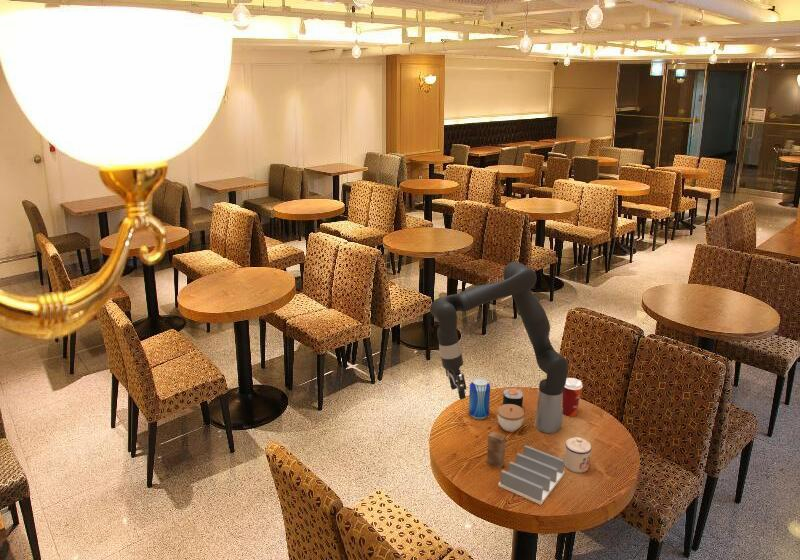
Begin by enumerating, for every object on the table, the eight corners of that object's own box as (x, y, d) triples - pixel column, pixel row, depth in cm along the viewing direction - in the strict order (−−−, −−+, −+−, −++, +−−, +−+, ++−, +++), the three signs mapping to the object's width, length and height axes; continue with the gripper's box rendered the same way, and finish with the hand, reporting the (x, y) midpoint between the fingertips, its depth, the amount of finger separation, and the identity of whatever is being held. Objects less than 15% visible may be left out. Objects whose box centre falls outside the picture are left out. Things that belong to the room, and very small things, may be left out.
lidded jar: (521, 437, 233) (522, 416, 230) (494, 432, 236) (495, 411, 233) (524, 422, 242) (526, 402, 239) (498, 418, 246) (500, 398, 242)
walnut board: (486, 462, 217) (488, 435, 213) (490, 458, 220) (492, 431, 216) (500, 468, 214) (501, 440, 210) (503, 464, 216) (505, 436, 212)
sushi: (500, 403, 256) (501, 387, 254) (519, 402, 257) (520, 386, 254) (504, 413, 249) (505, 397, 246) (524, 412, 249) (525, 396, 247)
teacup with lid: (582, 476, 210) (586, 449, 206) (559, 466, 215) (561, 439, 211) (596, 460, 218) (599, 434, 214) (573, 451, 224) (576, 425, 220)
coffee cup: (580, 419, 244) (583, 387, 239) (559, 417, 246) (563, 385, 241) (578, 408, 252) (582, 377, 247) (558, 406, 254) (561, 376, 249)
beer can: (489, 420, 244) (491, 386, 238) (469, 420, 244) (471, 386, 239) (487, 409, 252) (489, 376, 246) (467, 409, 252) (469, 376, 247)
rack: (498, 485, 205) (499, 471, 203) (523, 457, 220) (524, 444, 218) (541, 505, 196) (542, 490, 194) (564, 474, 211) (566, 460, 209)
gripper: (468, 357, 203) (475, 398, 207) (453, 343, 216) (460, 382, 221) (447, 363, 201) (455, 405, 206) (434, 349, 214) (442, 388, 219)
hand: (458, 393), depth 213 cm, fingers open, 8 cm apart
